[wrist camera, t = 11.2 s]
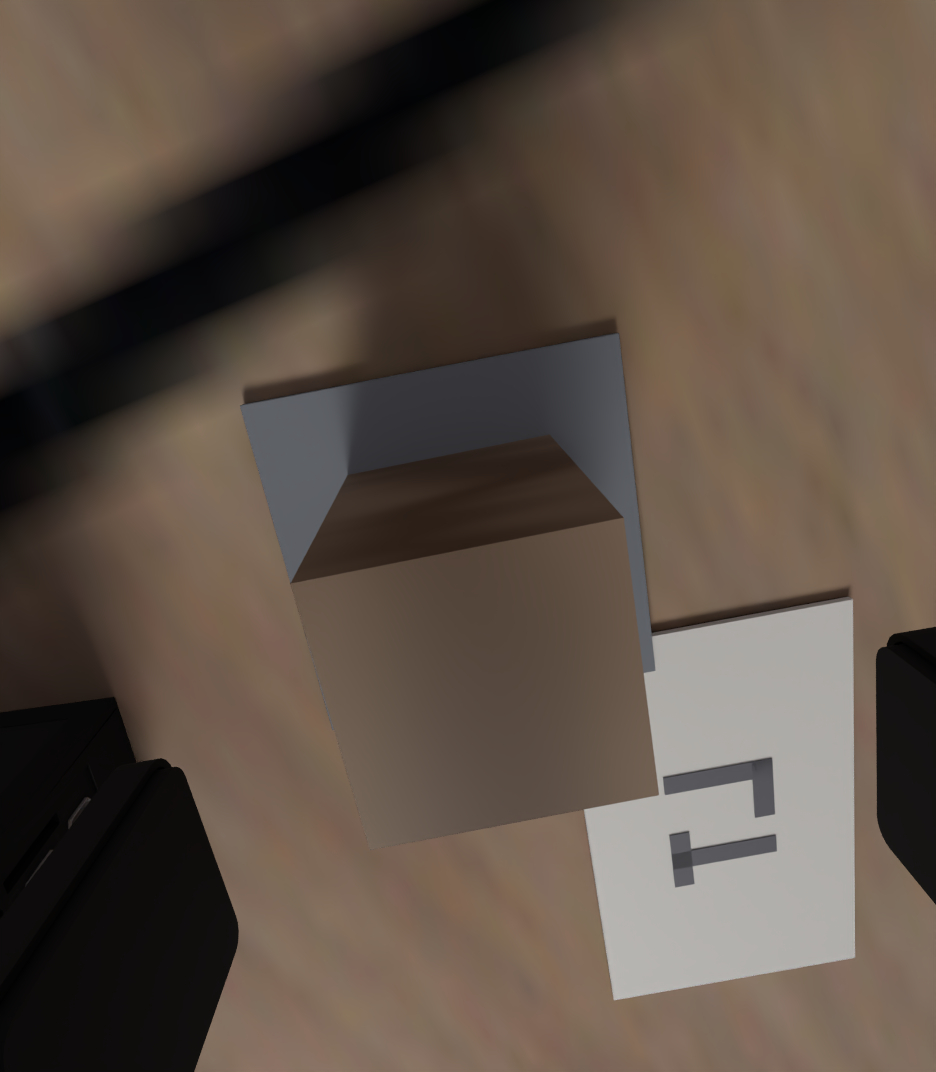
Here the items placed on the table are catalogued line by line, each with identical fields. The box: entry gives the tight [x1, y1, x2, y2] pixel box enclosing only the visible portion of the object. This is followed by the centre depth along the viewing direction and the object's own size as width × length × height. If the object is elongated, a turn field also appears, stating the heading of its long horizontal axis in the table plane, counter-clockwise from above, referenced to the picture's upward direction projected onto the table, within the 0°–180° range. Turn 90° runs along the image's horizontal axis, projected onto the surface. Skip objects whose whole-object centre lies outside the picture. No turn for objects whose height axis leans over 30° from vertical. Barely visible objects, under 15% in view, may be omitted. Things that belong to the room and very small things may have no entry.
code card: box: [584, 597, 855, 1000], centre depth 21 cm, size 8×13×1 cm, turn 10°
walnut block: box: [290, 434, 659, 850], centre depth 14 cm, size 5×5×7 cm
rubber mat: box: [240, 333, 655, 730], centre depth 18 cm, size 9×9×1 cm
